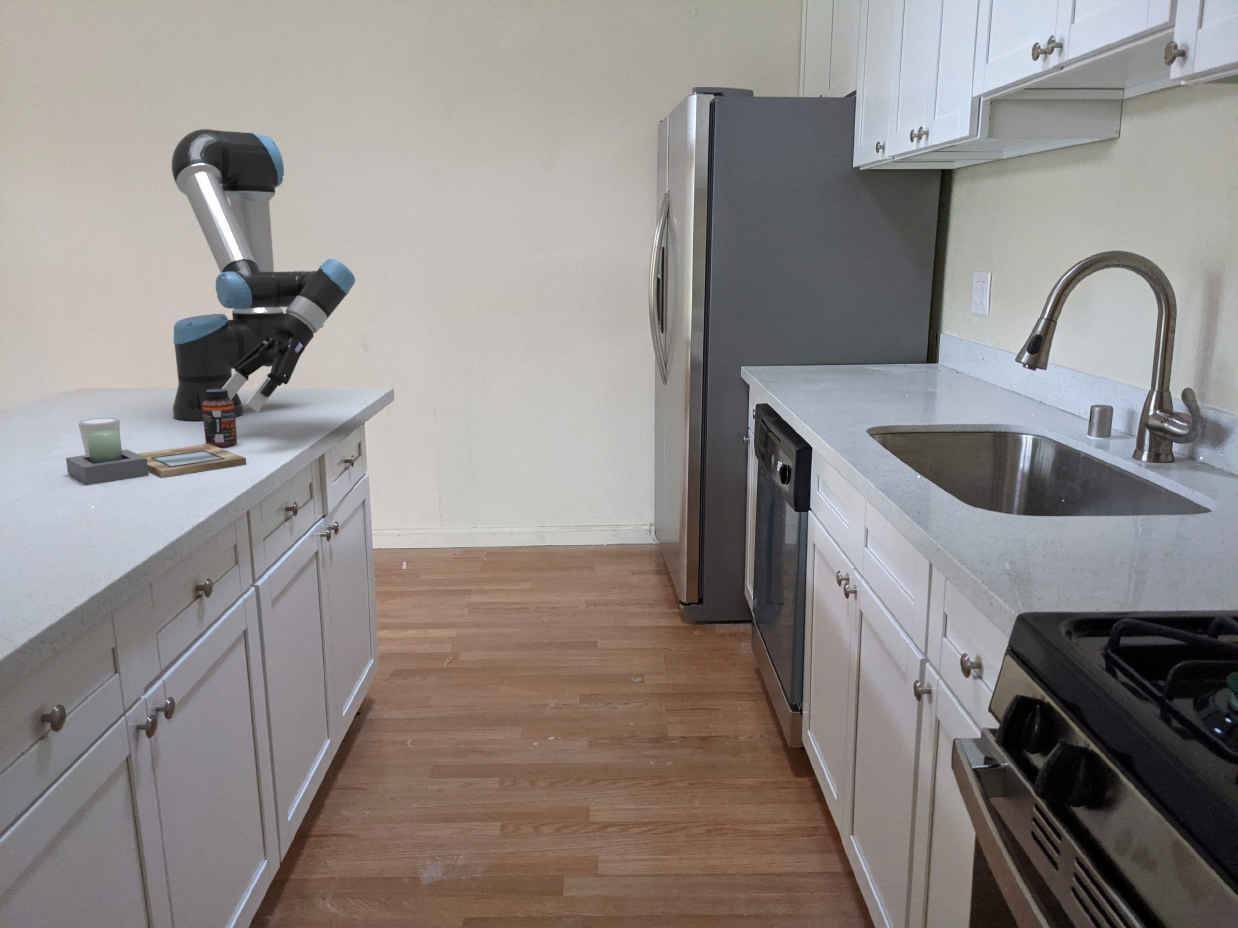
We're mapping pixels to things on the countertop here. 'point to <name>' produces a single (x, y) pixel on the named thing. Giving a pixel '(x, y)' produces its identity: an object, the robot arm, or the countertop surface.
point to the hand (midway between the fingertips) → (236, 404)
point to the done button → (104, 446)
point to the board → (190, 460)
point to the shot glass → (97, 428)
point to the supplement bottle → (219, 418)
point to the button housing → (107, 468)
